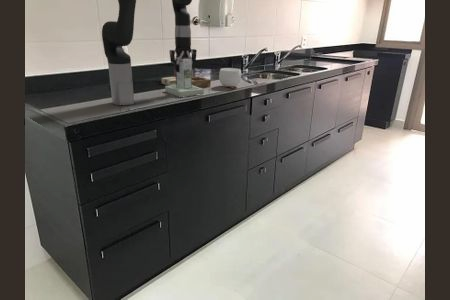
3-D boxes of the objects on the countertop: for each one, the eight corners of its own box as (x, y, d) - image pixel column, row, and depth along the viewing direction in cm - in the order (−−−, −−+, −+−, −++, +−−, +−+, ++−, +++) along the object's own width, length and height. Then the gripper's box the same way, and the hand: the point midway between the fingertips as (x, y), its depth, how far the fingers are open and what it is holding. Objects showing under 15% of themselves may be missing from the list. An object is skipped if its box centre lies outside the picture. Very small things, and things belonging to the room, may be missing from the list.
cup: (245, 87, 178) (246, 69, 175) (230, 90, 170) (231, 72, 166) (229, 83, 186) (229, 67, 182) (214, 86, 177) (214, 69, 174)
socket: (210, 86, 177) (210, 79, 175) (193, 88, 170) (193, 81, 169) (199, 83, 185) (199, 76, 183) (183, 85, 178) (183, 78, 177)
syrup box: (184, 86, 163) (183, 57, 157) (192, 88, 160) (191, 58, 154) (175, 87, 159) (174, 58, 153) (184, 89, 156) (183, 59, 150)
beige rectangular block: (183, 85, 180) (183, 79, 178) (171, 87, 175) (170, 80, 174) (173, 82, 187) (173, 76, 185) (161, 84, 182) (161, 78, 181)
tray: (203, 94, 158) (203, 89, 157) (180, 97, 151) (180, 91, 150) (187, 88, 170) (187, 83, 169) (165, 91, 162) (165, 86, 161)
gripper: (173, 36, 143) (174, 73, 149) (200, 36, 151) (200, 71, 157) (165, 35, 148) (167, 71, 155) (191, 35, 156) (192, 69, 163)
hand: (183, 71), depth 156 cm, fingers closed on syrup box, 6 cm apart
